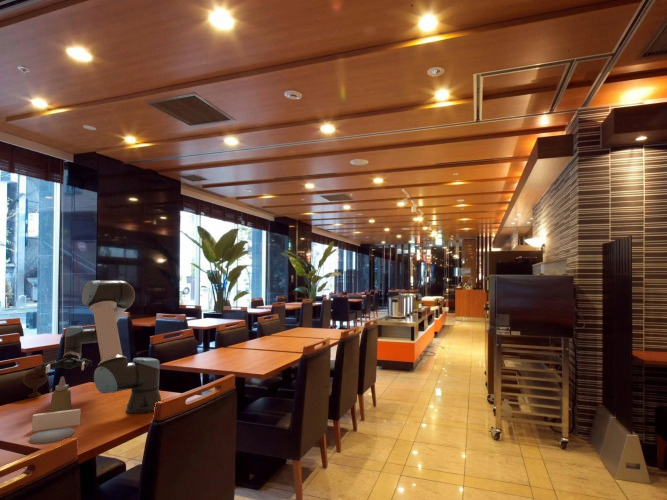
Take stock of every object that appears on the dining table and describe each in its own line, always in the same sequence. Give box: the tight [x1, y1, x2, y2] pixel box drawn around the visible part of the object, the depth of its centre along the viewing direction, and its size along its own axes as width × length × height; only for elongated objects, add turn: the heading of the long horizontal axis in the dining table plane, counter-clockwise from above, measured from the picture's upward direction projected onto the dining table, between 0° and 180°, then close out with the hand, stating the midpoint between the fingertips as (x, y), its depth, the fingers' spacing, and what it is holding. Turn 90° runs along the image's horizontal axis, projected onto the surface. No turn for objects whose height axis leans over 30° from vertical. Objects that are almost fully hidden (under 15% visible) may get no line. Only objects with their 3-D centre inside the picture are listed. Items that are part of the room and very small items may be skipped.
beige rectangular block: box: [31, 408, 82, 432], centre depth 162 cm, size 16×2×6 cm, turn 118°
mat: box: [29, 427, 75, 445], centre depth 152 cm, size 14×14×1 cm
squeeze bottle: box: [48, 376, 73, 413], centre depth 171 cm, size 8×8×18 cm
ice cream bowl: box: [22, 365, 50, 398], centre depth 208 cm, size 11×11×15 cm
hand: (65, 368), depth 181 cm, fingers open, 13 cm apart
